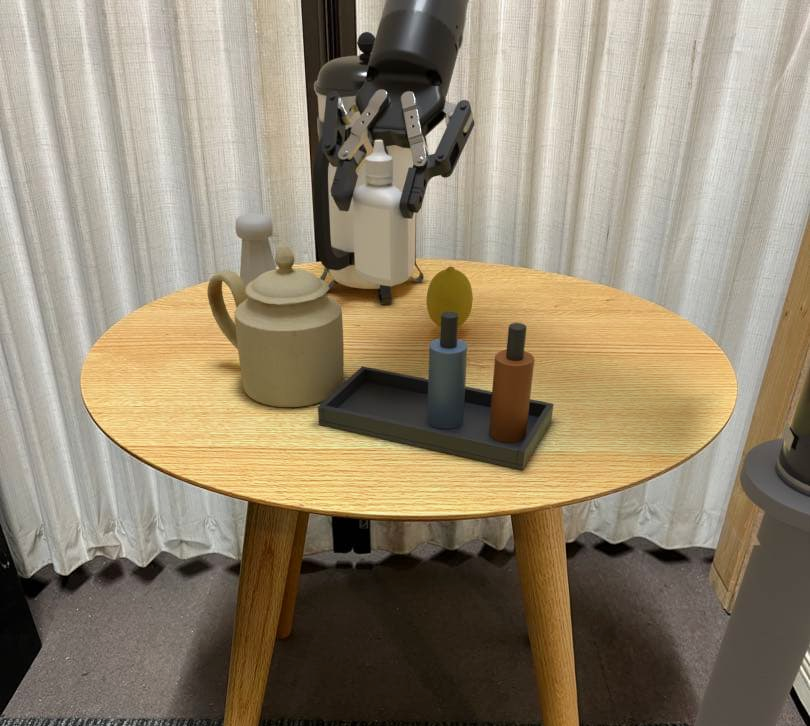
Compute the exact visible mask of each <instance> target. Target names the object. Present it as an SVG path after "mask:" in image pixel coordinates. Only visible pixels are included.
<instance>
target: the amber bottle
mask: <svg viewBox="0 0 810 726" xmlns="http://www.w3.org/2000/svg"><path fill="white" fill-rule="evenodd" d="M527 329H528V327H527V325H526V324H524V323H522V322H512V323H510V324H509V325H508V330H507V339H506V340H507V341H506V349H503V350H499V351H498V352H496V354H495V355H494V365H493V376H492V377H493V378H492V389H491V390H492V401H491V413H490V426H489V434H490V436H491V437H492V438H493V439H495V440H497V441H501V442H506V443H513V442H518V441H521V440H523V439H524V438H525V436H526V431H527V422H528V413H529V404H530V399H531V394H532V393H531V392H532V386H533V375H534V367H535V357H534V355H533V354H532V353H530V352H528V351H525V348H526V347H525V346H526V338H527Z"/></svg>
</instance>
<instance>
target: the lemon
mask: <svg viewBox="0 0 810 726" xmlns="http://www.w3.org/2000/svg"><path fill="white" fill-rule="evenodd" d="M473 296H474V295H473V289H472V285H471V281H470V280H469V278H468V277H467V276H466V275H465V274H464V273H463V272H462V271H460V270H458V269H455V267H454V266H448V267H447V268H445V269H442V270H440V271H439V272H438V273H436V274H435V275H434V276H433V277H432V279H431V280H430V282H429V284H428V289H427V293H426V310H427V313H428V317H429V318H430V320H431V321H432V322H433V323H434V325H436V326H438V327H439V328H441V314H442V313H443V312H447V311H451V312H456V313H457V314H458V328H459V327H461V326H462V325H463V324H464V323H466V321H468V318H469V317H470V314H471V312H472V308H473V299H474V298H473Z"/></svg>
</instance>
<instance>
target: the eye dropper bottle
mask: <svg viewBox="0 0 810 726" xmlns="http://www.w3.org/2000/svg"><path fill="white" fill-rule="evenodd" d="M365 168H366V182H367V184H364V185H362V186H359V187H358V188H357V189H356V190H355V191H354V194H353V227H354V254H355V271H356V273H357V274H358V275H359V276H360V277H361V278H363V279H364V280H366V281H369V282H372V283H375V284H379V285H385V286H392V287H395V286H394V285H396V286H398V285H397V284H399V285H401V284H403V283H405V282H407V281H408V280H409V279H408V218H403V216H402V213H401V211H400V209H399V203H400V199H401V195H402V192H401V191H400V190H399V189H398V188H397V187H395V186H394V185H393V184H392V182H393V158H392V157H391V156H389V155H387V154H386V153H385V150H384V145H383V140H375V142H374V149H373V153H372V154H371V155H369V156H367V157H366V158H365ZM407 279H408V280H407ZM400 283H401V284H400Z"/></svg>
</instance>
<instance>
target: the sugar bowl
mask: <svg viewBox="0 0 810 726" xmlns="http://www.w3.org/2000/svg"><path fill="white" fill-rule="evenodd" d="M295 261H296V260H295V255H294V253H293V251H292V249H290V247H289V246H288V245H287V244H282V245H279V247H278V249H277V251H276V252H275V257H274V263H275V265H277V267H278V268H276V269H275V270H271V271H267V272H265V273H263V274H261V275H260V276H258V277H257V278H256V279H255V280H253V281H251V282H250V283H249V284H248V285H247V286H246V285H245V284H244V282H243V280H242V279H241V278H240V274H238V273H237V272H235V271H232V270H228V269H222V270H219V271H216V273H214V274H213V275H212V276H211V278H210V279H209V281H208V284H207V299H208V304H209V307H210V310H211V313H212V316H213V319H214V320H215V323H216V324H217V326H218V328H219V329H220V331H221V332H222V334H223V335H224V336H225V337H226V338H227V340H228V341H229V342H230V343H231V345H232V346H234V347H235V348H236V349H237V354H238V360H239V366H240V374H241V381H242V382H241V383H242V387H243V391H244V392H245V394H246V395H247V396H248V397H249V398H250V399H251V400H254V401H255V402H257V403H260V404H263V405H266V406H271V407H276V408H277V407H278V408H299V407H308V406H309V407H310V406H315V405H316V404H321V403H322V402H324V401H325V400H326V399H327V398H328V397H329V396H330V395H331V394H332V393H333V392H334V391H336V390H337V389H338V388H339V387H340V386H341V385H342V384H343V383H344V382H345V381H344V379H345V376H344V375H345V374H344V372H345V370H344V369H345V368H344V367H345V365H344V364H345V361H344V359H345V358H344V348H345V347H344V325H343V324H344V323H343V310H342V307H341V305H340V303H339V302H338V301H337V300H335V299H334V298H332V297H330V296H327V293H328V292H327V291H328V290H329V286H328V284H329V283H327V282H326V281H325V280H324V281H323V280H321V279H320V277H317V275H316V274H314V273H313V272H311V271H308V270H306V269H301V268H293V267H294V263H295ZM223 283H224V284H226V286H227V287H228V288H229V291H230V292H231V294H232V297H233V300H234V303H235V310H234V320H233V318H231V316H230V314H229V312H228V309H227V305H226V302H225V300H224V294H223ZM326 292H327V293H326Z"/></svg>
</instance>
